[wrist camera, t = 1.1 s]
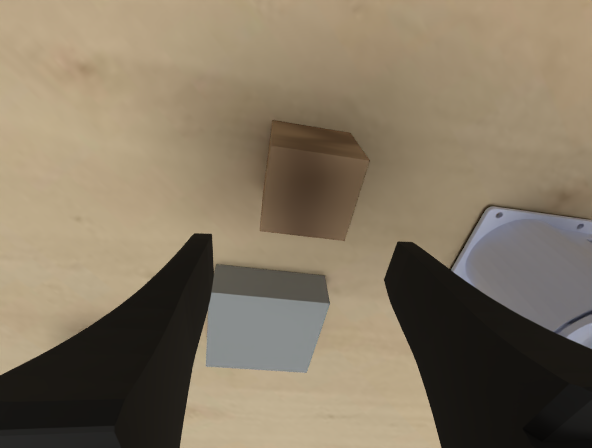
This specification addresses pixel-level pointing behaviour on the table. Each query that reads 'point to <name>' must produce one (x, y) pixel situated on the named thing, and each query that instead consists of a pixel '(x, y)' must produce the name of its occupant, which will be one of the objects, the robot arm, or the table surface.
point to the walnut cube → (311, 181)
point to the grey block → (264, 318)
